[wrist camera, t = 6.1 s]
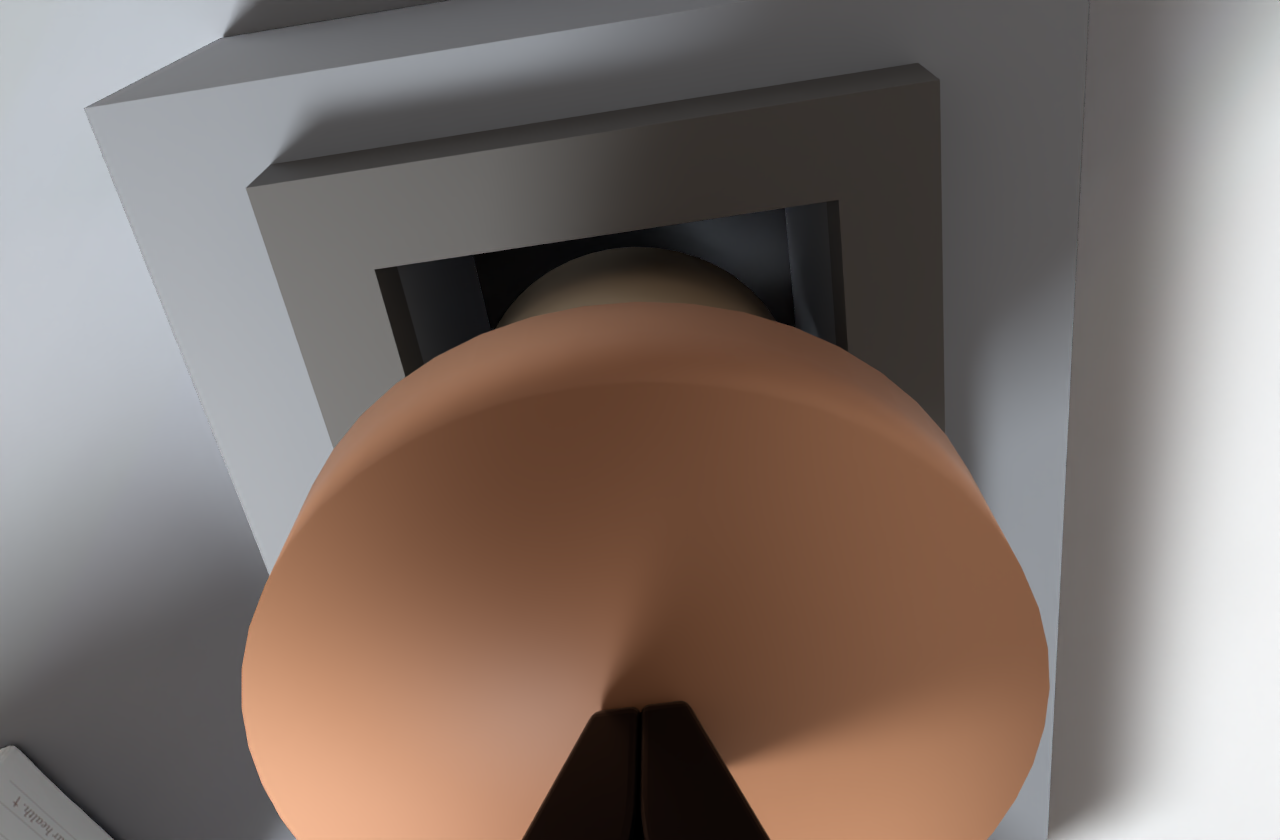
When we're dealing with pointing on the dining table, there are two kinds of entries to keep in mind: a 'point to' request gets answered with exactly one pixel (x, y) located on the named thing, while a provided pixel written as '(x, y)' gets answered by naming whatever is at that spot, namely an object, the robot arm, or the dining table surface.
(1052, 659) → the socket block
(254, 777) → the dining table surface
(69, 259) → the dining table surface
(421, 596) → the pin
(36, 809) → the supplement box
